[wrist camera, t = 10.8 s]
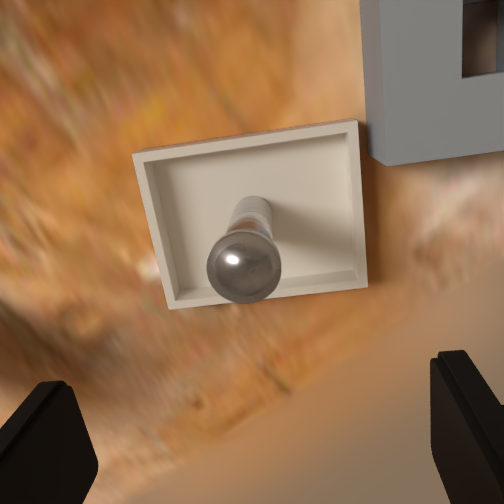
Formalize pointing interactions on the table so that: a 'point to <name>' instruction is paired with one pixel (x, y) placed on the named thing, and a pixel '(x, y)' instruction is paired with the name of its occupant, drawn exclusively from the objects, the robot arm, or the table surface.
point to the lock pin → (246, 254)
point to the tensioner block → (427, 83)
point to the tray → (272, 190)
